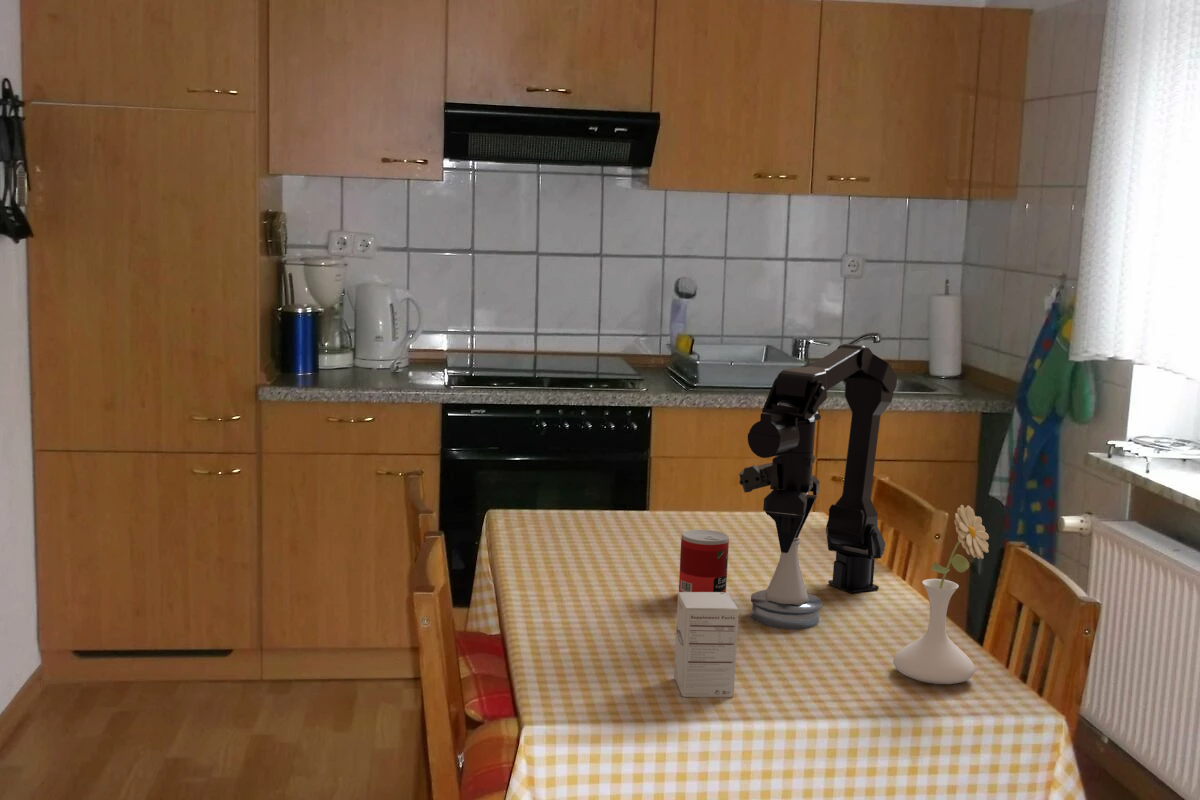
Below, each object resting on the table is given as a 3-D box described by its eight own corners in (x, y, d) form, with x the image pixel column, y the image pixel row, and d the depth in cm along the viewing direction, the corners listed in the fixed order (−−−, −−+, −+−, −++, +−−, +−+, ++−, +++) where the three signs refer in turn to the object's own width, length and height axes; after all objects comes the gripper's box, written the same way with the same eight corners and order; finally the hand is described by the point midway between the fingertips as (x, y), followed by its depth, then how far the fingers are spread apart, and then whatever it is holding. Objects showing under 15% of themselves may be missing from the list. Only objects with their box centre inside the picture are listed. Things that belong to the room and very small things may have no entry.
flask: (813, 596, 212) (817, 536, 210) (804, 608, 205) (808, 547, 204) (769, 590, 214) (773, 531, 213) (759, 602, 207) (763, 541, 206)
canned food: (723, 607, 215) (726, 542, 213) (675, 602, 216) (678, 538, 214) (728, 594, 222) (731, 531, 220) (681, 589, 223) (684, 527, 222)
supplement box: (672, 678, 182) (676, 590, 180) (725, 678, 182) (729, 591, 180) (680, 698, 174) (684, 607, 172) (734, 698, 175) (739, 607, 173)
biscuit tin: (792, 606, 218) (794, 586, 217) (835, 626, 208) (836, 605, 207) (735, 614, 212) (737, 593, 212) (776, 635, 202) (777, 613, 202)
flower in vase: (929, 696, 178) (943, 519, 175) (875, 668, 188) (888, 500, 185) (1000, 683, 184) (1015, 511, 181) (944, 657, 194) (957, 494, 191)
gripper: (755, 436, 217) (750, 527, 219) (733, 455, 199) (727, 553, 202) (822, 442, 214) (816, 534, 216) (806, 462, 196) (799, 562, 198)
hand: (789, 545), depth 208 cm, fingers open, 9 cm apart
